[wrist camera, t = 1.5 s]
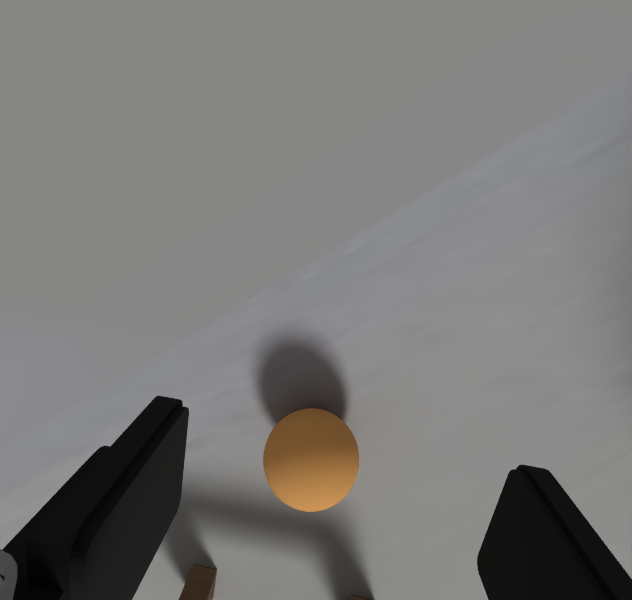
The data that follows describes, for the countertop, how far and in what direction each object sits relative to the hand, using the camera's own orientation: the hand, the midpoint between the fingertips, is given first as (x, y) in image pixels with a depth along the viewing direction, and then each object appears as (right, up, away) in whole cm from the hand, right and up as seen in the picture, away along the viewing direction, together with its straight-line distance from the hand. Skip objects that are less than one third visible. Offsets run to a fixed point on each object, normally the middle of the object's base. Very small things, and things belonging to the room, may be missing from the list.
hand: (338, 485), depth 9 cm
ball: (-1, -6, +15) cm, 16 cm away
